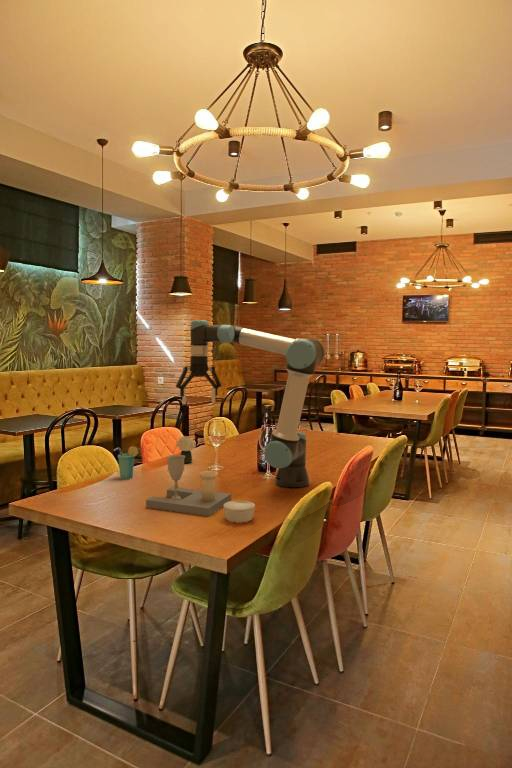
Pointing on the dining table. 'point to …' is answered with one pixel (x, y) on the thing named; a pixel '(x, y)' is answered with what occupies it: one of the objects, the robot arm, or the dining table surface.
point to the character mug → (186, 447)
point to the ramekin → (239, 511)
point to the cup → (127, 462)
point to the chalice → (176, 470)
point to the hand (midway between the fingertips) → (198, 403)
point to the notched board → (193, 498)
